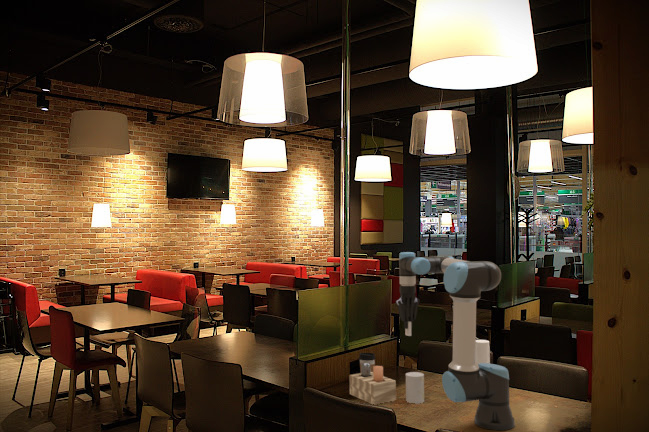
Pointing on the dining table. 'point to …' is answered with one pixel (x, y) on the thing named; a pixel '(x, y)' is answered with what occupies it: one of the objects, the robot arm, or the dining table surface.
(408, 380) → the cup
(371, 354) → the coffee cup
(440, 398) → the dining table surface
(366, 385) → the birch block
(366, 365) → the peg steel
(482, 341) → the cylindrical container
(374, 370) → the peg terracotta
